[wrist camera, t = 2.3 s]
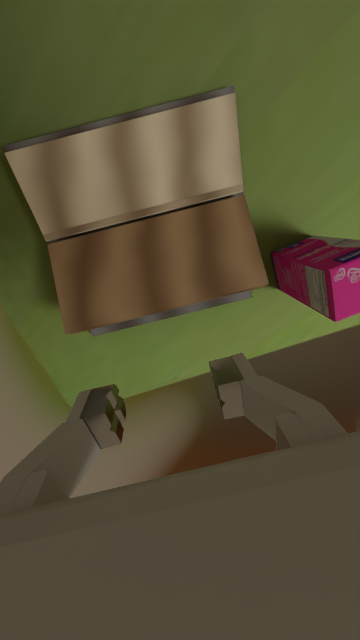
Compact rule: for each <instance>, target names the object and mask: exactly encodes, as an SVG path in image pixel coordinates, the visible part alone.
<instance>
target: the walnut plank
mask: <svg viewBox="0 0 360 640" xmlns="http://www.w3.org/2000/svg"><path fill="white" fill-rule="evenodd" d="M47 246H48V251H49V256H50V261H51V266H52V271H53V276H54V281H55V286H56V291H57V296H58V301H59V306H60V310H61V315H62V320H63V325H64V330H65V334H75V333H79V332H83V331H87V330H91V329H95V328H99V327H103V326H107V325H111V324H115V323H119V322H123V321H127V320H131V319H135V318H140V317H144V316H148V315H152V314H156V313H160V312H164V311H168V310H172V309H176V308H180V307H184V306H188V305H192V304H196V303H200V302H204V301H208V300H212V299H217V298H221V297H225V296H229V295H233V294H237V293H241V292H245V291H249V290H253V289H257V288H261V287H264V286H266V285H268V284H269V282H268V278H267V275H266V271H265V268H264V264H263V260H262V257H261V253H260V250H259V246H258V243H257V239H256V235H255V232H254V228H253V225H252V221H251V218H250V214H249V211H248V207H247V203H246V200H245V196H244V195H241V196H237V197H233V198H229V199H225V200H221V201H217V202H213V203H209V204H205V205H201V206H197V207H193V208H189V209H186V210H182V211H178V212H174V213H170V214H166V215H162V216H158V217H154V218H150V219H146V220H142V221H138V222H134V223H130V224H126V225H123V226H119V227H115V228H111V229H107V230H103V231H99V232H95V233H91V234H87V235H83V236H79V237H75V238H71V239H67V240H63V241H60V242H56V243H52V244H48V245H47Z"/></svg>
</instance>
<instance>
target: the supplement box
mask: <svg viewBox="0 0 360 640" xmlns="http://www.w3.org/2000/svg"><path fill="white" fill-rule="evenodd" d="M271 256H272V261H273V265H274V270H275V275H276V279H277V284H278V288H279V290H281V291H283V292H284V293H286V294H288V295H290V296H291V297H293V298H295V299H296V300H298V301H300V302H302V303H303V304H305V305H307V306H309V307H310V308H312V309H314V310H316V311H317V312H319V313H321V314H322V315H324V316H326V317H328V318H329V319H331V320H333V321H334V322H337V321H339V320H342V319H345V318H347V317H350V316H353V315H355V314H358V313H360V240H352V239H342V238H332V237H322V236H310V237H307V238H305V239H304V240H301V241H299V242H297V243H294V244H292V245H290V246H287V247H285V248H283V249H280V250H277V251H275V252H272V253H271Z"/></svg>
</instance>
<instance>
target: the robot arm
mask: <svg viewBox="0 0 360 640" xmlns="http://www.w3.org/2000/svg"><path fill="white" fill-rule="evenodd" d="M209 366H210V370H211V373H212V380H213V384H214V389H215V392H216V395H217V398H218V399H219V404H220V408H221V411H222V413H223V417H224V419H229V418H233V417H239V416H243V415H245V416H246V417H247V418H248V419H249V420H250V421H252V422H253V423H254V424H256V425H257V426H258V427H259V428H261V429H262V430H263V431H264V432H265V433H267V434H268V435H269V436H270V437H272V438H273V439H274V440H275V441H276V444H277V451H273V452H268V453H264V454H260V455H255V456H251V457H247V458H242V459H238V460H234V461H230V462H225V463H221V464H217V465H213V466H208V467H204V468H200V469H195V470H191V471H187V472H182V473H179V474H174V475H170V476H165V477H161V478H156V479H152V480H148V481H143V482H139V483H135V484H131V485H126V486H122V487H118V488H113V489H109V490H105V491H100V492H96V493H92V494H87V495H83V496H79V497H75V498H70V496H71V495H72V493H73V492H74V490H75V489H76V487H77V486H78V484H79V483H80V481H81V480H82V478H83V477H84V475H85V474H86V472H87V471H88V469H89V468H90V466H91V465H92V463H93V462H94V461H95V459H96V457H97V456H98V455H99V453H100V452H101V449H103V448H107V447H111V446H114V445H118V444H121V443H122V437H123V431H124V428H123V426H122V423H123V422H124V421H125V419H126V406H125V402H124V400H123V398H121V397H120V396H118V394H119V389H118V387H117V386H116V385H115V384H113V385H108V386H104V387H99V388H94V389H90V390H86V391H82V392H80V393H79V394H78V397H77V399H76V401H75V403H74V405H73V407H72V410H71V412H70V414H69V416H68V418H67V420H66V423H62V424H61V425H60V426H59V427H58V428H56V430H54V431H53V432H52V433H51V434H50V435H49V436H48V437H47V438H46V439H45V440H43V441H42V442H41V444H39V445H38V446H37V447H36V448H35V449H34V450H33V451H32V452H31V453H29V454H28V456H27V457H25V458H24V459H23V460H22V461H21V462H20V463H19V464H18V465H17V466H15V467H14V468H13V469H12V470H11V471H10V472H9V473H8V474H7V475H6V476H5V477H4V478H3V479H2V481H1V482H0V640H360V431H359V432H355V433H350V434H348V433H347V432H346V431H345V430H344V429H343V428H342V426H341V425H340V424H339V423H338V422H337V421H336V420H335V418H334V417H333V416H332V415H331V414H330V413H329V412H328V410H327V409H326V408H325V407H324V406H323V405H322V404H321V403H319V402H317V401H315V400H312V399H310V398H308V397H306V396H303V395H302V394H299V393H297V392H295V391H293V390H291V389H289V388H286V387H284V386H282V385H280V384H278V383H276V382H274V381H271V380H269V379H267V378H265V377H263V376H259V377H258V376H257V374H256V373H255V371H254V370H253V368H252V367H251V365H250V363H249V362H248V360H247V359H246V357H245V355H244V354H243V353H240V354H236V355H232V356H230V357H226V358H222V359H218V360H214V361H210V362H209Z"/></svg>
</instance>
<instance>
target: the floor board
mask: <svg viewBox="0 0 360 640" xmlns="http://www.w3.org/2000/svg"><path fill="white" fill-rule="evenodd" d="M4 149H5V151H6V153H4V154H5V156H6V158H7V160H8V162H9V164H10V166H11V168H12V170H13V173H14V175H15V177H16V179H17V181H18V183H19V185H20V187H21V189H22V192H23V194H24V196H25V198H26V200H27V202H28V204H29V206H30V208H31V211H32V213H33V215H34V217H35V219H36V221H37V223H38V225H39V227H40V230H41V232H42V234H43V237H44V239H45V241H46V242H47V241H48V242H49V244H52V243H56V242H60V241H63V240H67V239H71V238H75V237H79V236H83V235H87V234H91V233H95V232H99V231H103V230H107V229H111V228H115V227H119V226H123V225H126V224H130V223H134V222H138V221H142V220H146V219H150V218H154V217H158V216H162V215H166V214H170V213H174V212H178V211H182V210H186V209H189V208H193V207H197V206H201V205H205V204H209V203H213V202H217V201H221V200H225V199H229V198H233V197H237V196H241V195H243V190H244V188H243V180H242V169H241V157H240V145H239V133H238V121H237V109H236V97H235V91H234V86H230V87H227V88H223V89H219V90H215V91H211V92H208V93H204V94H200V95H196V96H192V97H188V98H185V99H181V100H177V101H173V102H169V103H166V104H162V105H158V106H154V107H150V108H146V109H143V110H139V111H135V112H131V113H127V114H124V115H120V116H116V117H112V118H108V119H105V120H101V121H97V122H93V123H89V124H85V125H82V126H78V127H74V128H70V129H66V130H63V131H59V132H55V133H51V134H47V135H43V136H40V137H36V138H32V139H28V140H24V141H21V142H17V143H13V144H9V145H5V146H4ZM251 297H252V291H251V290H249V291H245V292H241V293H237V294H233V295H229V296H225V297H221V298H217V299H212V300H208V301H204V302H200V303H196V304H192V305H188V306H184V307H180V308H176V309H172V310H168V311H164V312H160V313H156V314H152V315H148V316H144V317H140V318H135V319H131V320H127V321H123V322H119V323H115V324H111V325H107V326H103V327H99V328H95V329H91V330H90V331H91V334H92V336H97V335H101V334H105V333H109V332H113V331H117V330H121V329H125V328H129V327H133V326H137V325H141V324H146V323H150V322H154V321H158V320H162V319H166V318H170V317H174V316H178V315H182V314H186V313H190V312H194V311H198V310H202V309H206V308H211V307H215V306H219V305H223V304H227V303H231V302H235V301H239V300H243V299H247V298H251Z"/></svg>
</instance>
